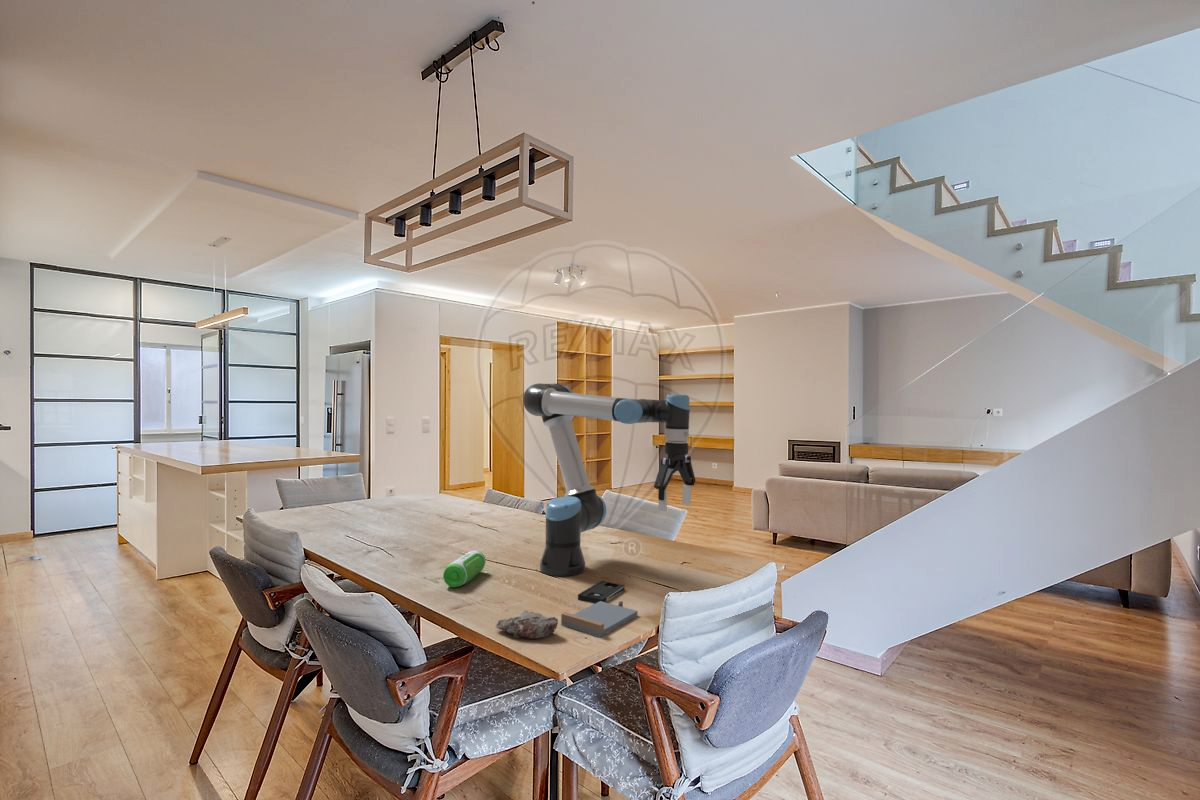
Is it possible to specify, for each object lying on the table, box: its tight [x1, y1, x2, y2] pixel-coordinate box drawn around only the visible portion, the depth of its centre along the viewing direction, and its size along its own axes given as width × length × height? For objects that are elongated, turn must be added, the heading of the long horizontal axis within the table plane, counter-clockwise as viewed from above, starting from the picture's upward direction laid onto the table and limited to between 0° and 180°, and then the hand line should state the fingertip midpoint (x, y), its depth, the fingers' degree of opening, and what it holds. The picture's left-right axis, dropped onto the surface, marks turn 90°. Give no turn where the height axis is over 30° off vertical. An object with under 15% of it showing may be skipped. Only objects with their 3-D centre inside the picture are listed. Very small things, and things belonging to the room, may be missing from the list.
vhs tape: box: [577, 580, 625, 604], centre depth 164 cm, size 14×8×2 cm, turn 152°
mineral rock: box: [495, 610, 559, 640], centre depth 136 cm, size 15×8×4 cm, turn 62°
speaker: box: [442, 550, 487, 588], centre depth 176 cm, size 18×7×8 cm, turn 169°
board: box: [560, 600, 638, 638], centre depth 146 cm, size 12×19×3 cm, turn 145°
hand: (674, 507), depth 183 cm, fingers open, 13 cm apart
